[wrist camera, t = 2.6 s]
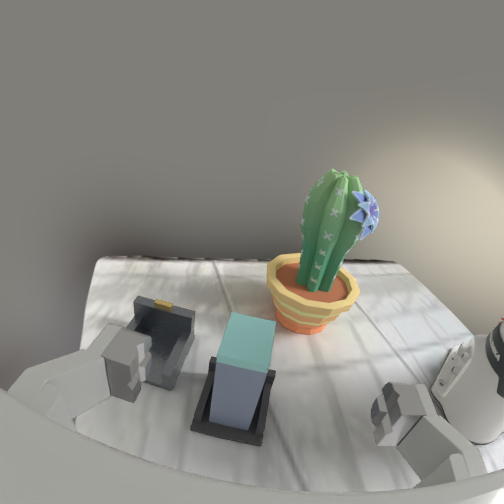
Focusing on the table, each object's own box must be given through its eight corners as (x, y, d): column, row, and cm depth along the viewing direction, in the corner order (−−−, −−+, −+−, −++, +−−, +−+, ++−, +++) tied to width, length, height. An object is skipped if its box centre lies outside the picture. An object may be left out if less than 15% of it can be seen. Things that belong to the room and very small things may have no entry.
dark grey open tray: (260, 446, 29) (266, 432, 28) (190, 430, 30) (190, 415, 28) (269, 387, 37) (275, 370, 36) (209, 373, 38) (211, 356, 36)
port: (171, 390, 34) (170, 359, 31) (111, 369, 35) (104, 336, 32) (194, 338, 43) (196, 305, 40) (141, 323, 44) (139, 290, 41)
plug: (248, 430, 31) (269, 366, 25) (208, 421, 31) (217, 354, 25) (255, 391, 36) (276, 321, 30) (220, 383, 36) (231, 311, 30)
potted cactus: (268, 351, 43) (312, 181, 31) (249, 288, 56) (275, 150, 44) (358, 345, 47) (419, 200, 35) (325, 289, 60) (362, 166, 48)
